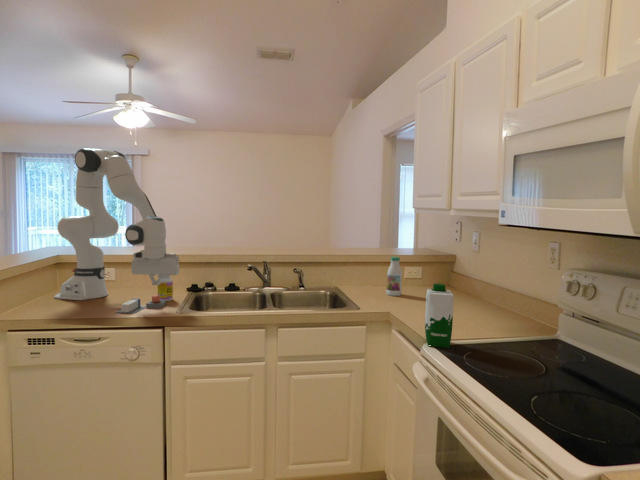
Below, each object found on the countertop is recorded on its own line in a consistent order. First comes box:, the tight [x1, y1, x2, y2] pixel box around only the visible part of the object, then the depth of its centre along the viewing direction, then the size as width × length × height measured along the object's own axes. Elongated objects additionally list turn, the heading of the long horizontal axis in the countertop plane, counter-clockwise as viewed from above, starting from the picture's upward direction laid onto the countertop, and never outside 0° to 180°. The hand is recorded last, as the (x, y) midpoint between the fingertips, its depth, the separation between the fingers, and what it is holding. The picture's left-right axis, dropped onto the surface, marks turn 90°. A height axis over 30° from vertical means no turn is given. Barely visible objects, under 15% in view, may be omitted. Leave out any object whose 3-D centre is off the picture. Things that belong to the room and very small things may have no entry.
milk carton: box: [424, 283, 454, 349], centre depth 132 cm, size 9×9×20 cm
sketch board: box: [115, 305, 146, 314], centre depth 167 cm, size 8×11×1 cm
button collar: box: [145, 300, 167, 309], centre depth 173 cm, size 6×6×2 cm
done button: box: [151, 294, 160, 303], centre depth 173 cm, size 3×3×3 cm
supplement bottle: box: [157, 275, 174, 302], centre depth 184 cm, size 7×7×13 cm
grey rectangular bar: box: [121, 298, 141, 312], centre depth 167 cm, size 10×3×3 cm, turn 179°
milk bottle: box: [386, 256, 403, 297], centre depth 206 cm, size 8×8×20 cm
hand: (156, 284), depth 172 cm, fingers closed
